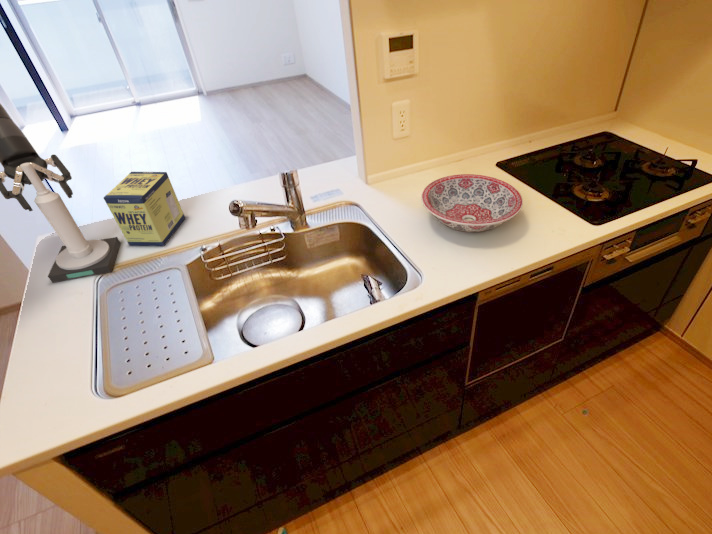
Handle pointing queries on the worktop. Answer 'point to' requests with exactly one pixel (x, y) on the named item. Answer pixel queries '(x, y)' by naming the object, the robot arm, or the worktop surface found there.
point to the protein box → (145, 208)
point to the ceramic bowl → (471, 201)
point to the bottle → (58, 215)
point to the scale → (85, 261)
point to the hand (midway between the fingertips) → (51, 203)
